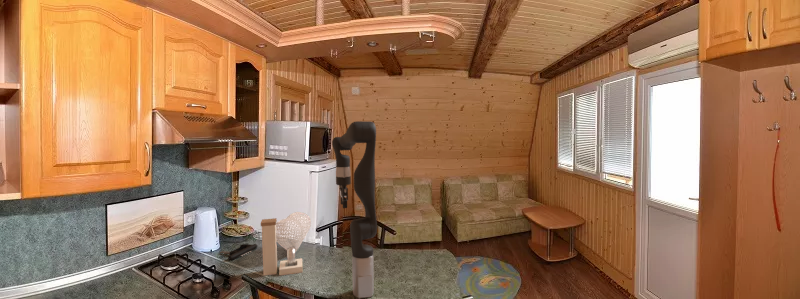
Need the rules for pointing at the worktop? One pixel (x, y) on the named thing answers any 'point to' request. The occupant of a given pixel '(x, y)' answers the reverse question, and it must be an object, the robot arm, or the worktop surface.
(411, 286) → the worktop surface
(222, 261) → the worktop surface
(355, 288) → the robot arm
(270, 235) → the slotted post
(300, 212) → the heart
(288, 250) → the steel pin
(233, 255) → the door handle
